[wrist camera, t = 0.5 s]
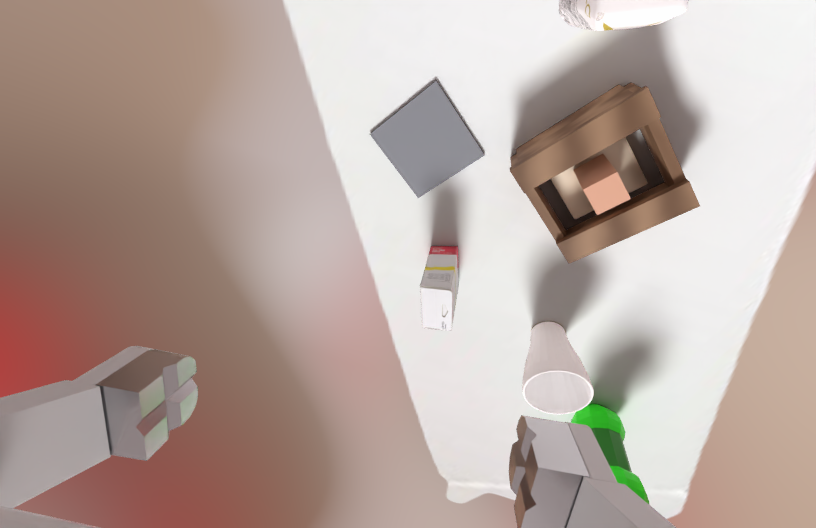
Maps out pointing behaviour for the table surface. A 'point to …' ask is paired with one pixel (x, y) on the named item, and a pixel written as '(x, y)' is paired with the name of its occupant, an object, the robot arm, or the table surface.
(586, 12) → the juice carton
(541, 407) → the cup
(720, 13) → the table surface
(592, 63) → the table surface
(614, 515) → the robot arm
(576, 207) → the access box
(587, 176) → the block
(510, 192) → the table surface
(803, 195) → the table surface
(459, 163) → the mat
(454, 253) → the ink box
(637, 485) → the plastic bottle
